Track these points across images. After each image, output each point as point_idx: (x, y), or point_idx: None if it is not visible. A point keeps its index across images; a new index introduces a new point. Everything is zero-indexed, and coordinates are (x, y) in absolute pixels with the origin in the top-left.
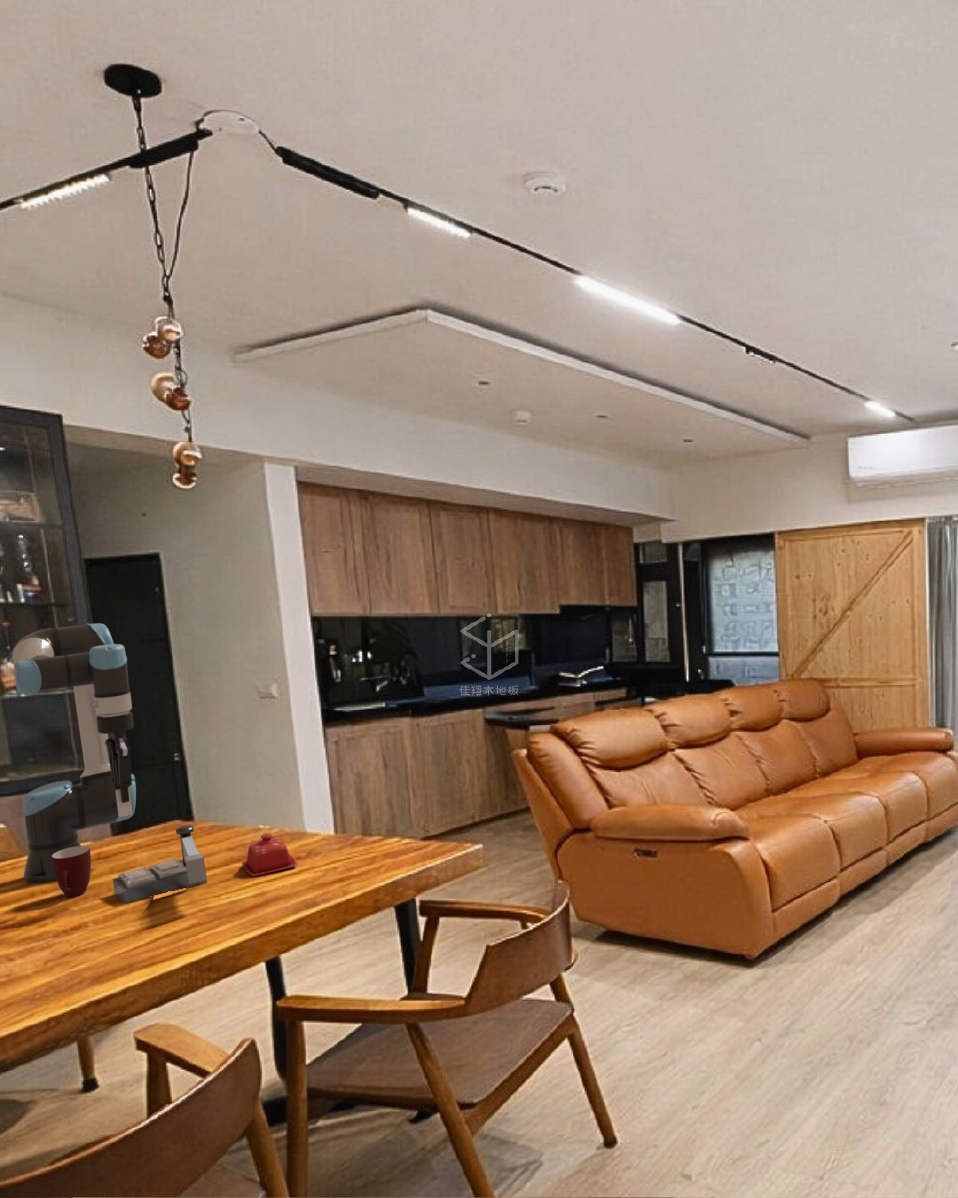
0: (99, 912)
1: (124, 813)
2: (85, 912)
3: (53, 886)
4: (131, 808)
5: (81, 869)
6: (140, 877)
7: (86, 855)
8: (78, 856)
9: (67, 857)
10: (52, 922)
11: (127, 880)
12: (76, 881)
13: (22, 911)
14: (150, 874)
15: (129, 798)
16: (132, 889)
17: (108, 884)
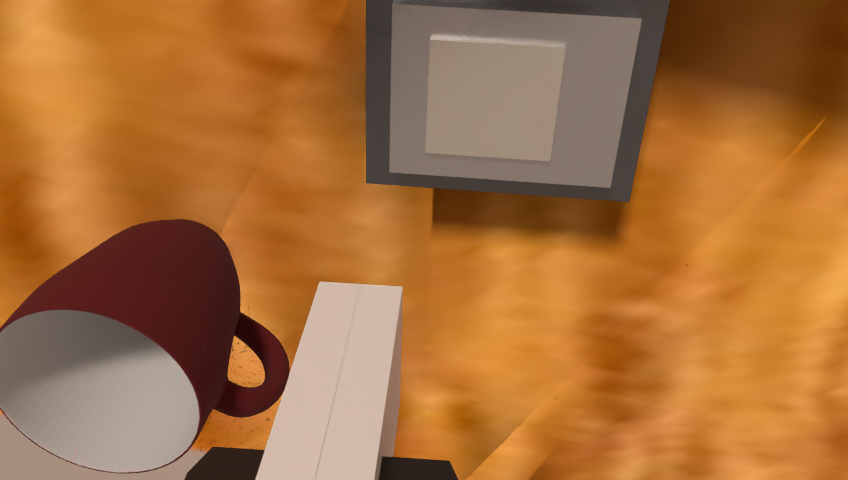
0: (530, 250)
1: (397, 383)
2: (471, 288)
3: (4, 290)
4: (394, 338)
5: (221, 322)
6: (569, 94)
7: (173, 331)
8: (198, 383)
9: (28, 357)
10: (464, 393)
11: (545, 166)
12: (237, 311)
13: (238, 428)
14: (574, 28)
15: (376, 459)
16: (636, 157)
17: (162, 110)
